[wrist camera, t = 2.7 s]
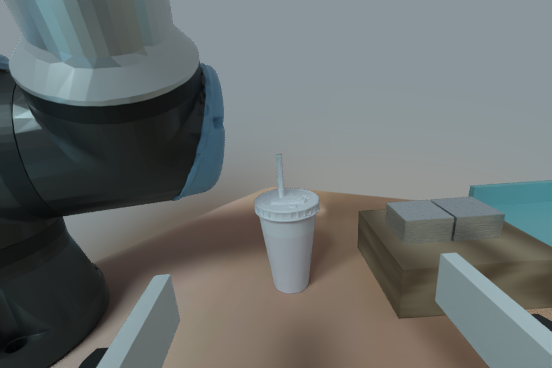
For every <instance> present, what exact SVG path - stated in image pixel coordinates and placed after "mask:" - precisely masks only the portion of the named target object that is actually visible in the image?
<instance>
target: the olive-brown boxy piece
mask: <svg viewBox="0 0 552 368" xmlns="http://www.w3.org/2000/svg"><path fill="white" fill-rule="evenodd" d="M385 217H386V209H382V210H368V211H359V223H358V248H359V250H360V252H361V253H362V255H363V257H364V259H365V260H366V262H367V264H368V266H369V267H370V269H371V271H372V273H373V274H374V276H375V278H376V279H377V281H378V283H379V285H380V286H381V288H382V290H383V292H384V293H385V295H386V297H387V299H388V300H389V302H390V304H391V305H392V307H393V309H394V311H395V312H396V314H397V316H398V318H411V317H425V316H438V315H446V314H445V312H444V311H443V310H442V309H441V308H440V306H439V305H438V304H437V303H436V301H435V297H436V288H437V280H438V272H439V263H440V255H441V254H444V253H457V254H459V255H460V256H461V257H462V258H463V259H465V260H466V261H467V262H468V263H469V264H471V265H472V266H473V267H474V268H475V269H477V270H478V271H479V272H480V273H481V274H483V275H484V276H485V277H486V278H487V279H489V280H490V281H491V282H492V283H493V284H495V285H496V286H497V287H498V288H499V289H501V290H502V291H503V292H504V293H505V294H507V295H508V296H509V297H510V298H511V299H513V300H514V301H515V302H516V303H517V304H519V305H520V306H521V307H522V308H523V309H535V308H549V307H552V247H551V246H549V245H547V244H546V243H544V242H542V241H540V240H538V239H536V238H535V237H533V236H531V235H529V234H527V233H526V232H524V231H522V230H520V229H518V228H516V227H515V226H513V225H511V224H509V223H507V222H506V221H504V223H503V228H502V233H501V237H500V238H494V239H480V240H466V241H452V240H451V242H437V243H423V244H409V245H403V244H402V242H401V241H400V240H399V239H398V238H397V237H396V236H395V234H394V233H393V232H392V231H391V230H390V229H389V228H388V227H387V225H386V224H385Z"/></svg>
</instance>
